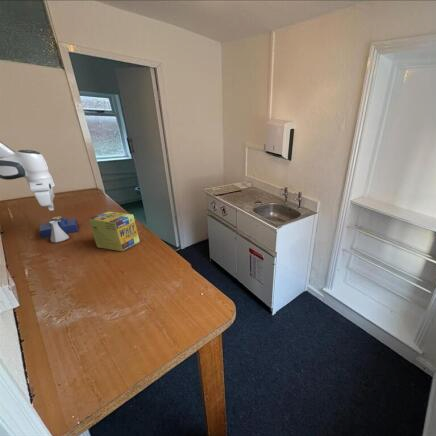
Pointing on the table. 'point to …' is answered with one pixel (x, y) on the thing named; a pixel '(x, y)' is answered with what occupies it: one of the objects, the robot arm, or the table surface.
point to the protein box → (114, 231)
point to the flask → (57, 232)
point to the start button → (57, 218)
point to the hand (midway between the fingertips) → (52, 209)
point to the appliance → (64, 224)
